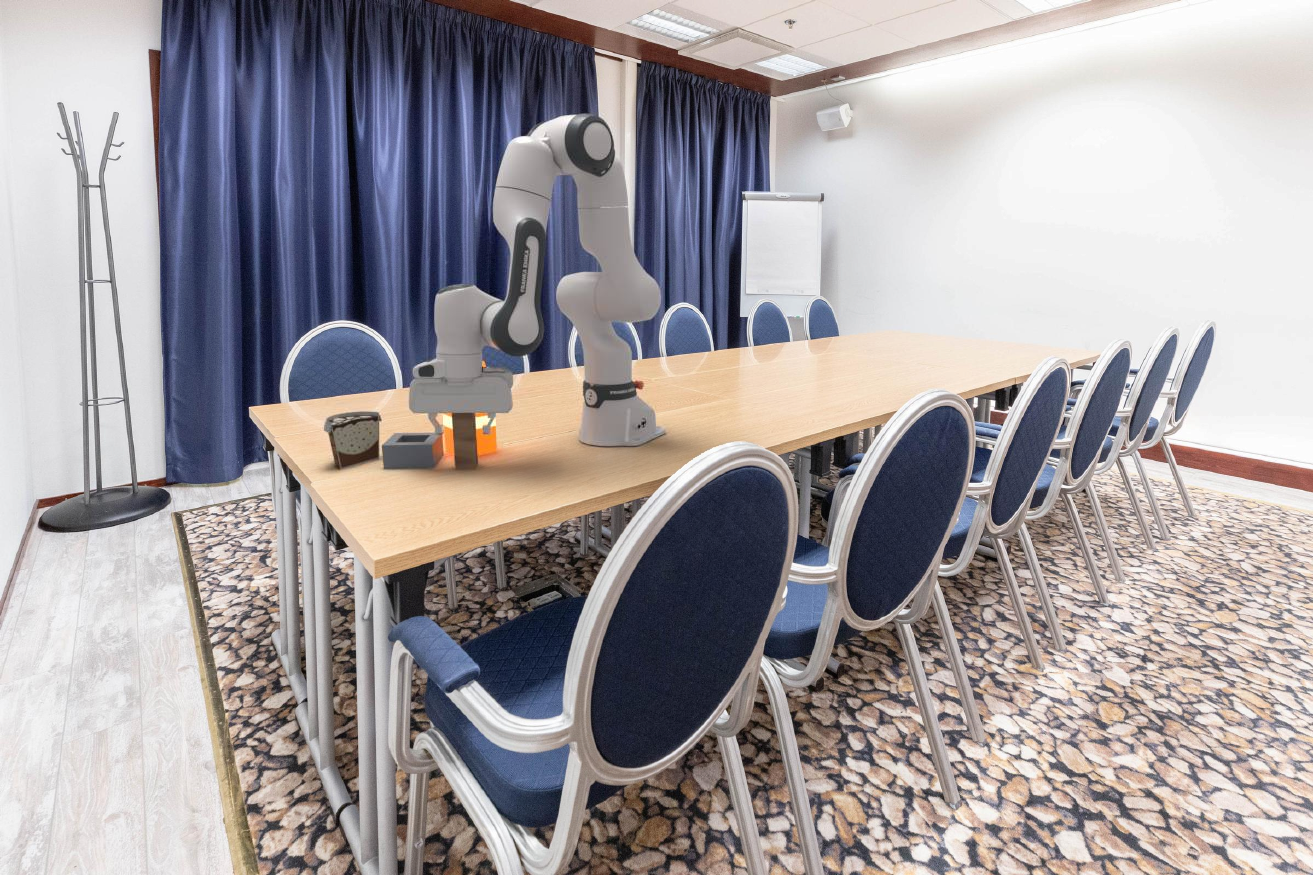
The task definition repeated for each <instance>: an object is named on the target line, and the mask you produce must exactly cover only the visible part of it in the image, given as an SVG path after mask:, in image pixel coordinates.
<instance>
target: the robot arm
mask: <svg viewBox="0 0 1313 875" xmlns="http://www.w3.org/2000/svg"><path fill="white" fill-rule="evenodd" d="M560 175H561V176H572V178H573V181H574V182H575V185H576V188H577V189H576V190H577V214H578V216H577V217H578V230H579V242H580V245H581V247H582V248H583V249H584V251H586V252H587V253H588V254H590V255H592V256H593V257H594V258H595V259H596V260H597V262H598V263H599V266H600V268H601V272H600V271H582V272H575V273H571V274H568V275H565V276H563V277H562V278H561V279H560V280H559V283H558V285H557V287H556V292H555V295H556V297H555V298H556V303H557V306H558V308H559V310H560V311H561V313H562V314H563V315H564V316H565V317H566V318H568V319H569V321H570V322H571V323H572V325H573V327H574V328H575V330H576V332H577V334H578V336H579V339H580V342H581V347H582V353H583V364H584V365H583V366H584V367H583V370H584V380H583V381H582V396H583V399H584V402H583V405H582V416H581V424H580V428H579V432H578V434H579V435H578V440H579V441H580V442H582V443H583V444H586V445H591V446H599V447H621V446H623V447H624V446H627V447H637V446H640V445H643V444H645V443H647V442H649V441H652V440H653V439H656V438H658V437H660V436H663V435H664V434H666V433H667V432H666V429H665V428H664V427H662V426H660V425H657V418H656V412H655V410H654V408H653V407H652V406H650V405H649V404H648V403H647V402H645V401H644V400H643V399H642V398H641V397H640V396H639V395H638V392H637V390H643V389H644V387H645V383H644V381H642V380H635V381H633V379H632V374H633V373H632V372H633V371H632V370H633V369H632V368H633V367H632V366H633V362H632V361H633V360H632V359H633V352H632V349H631V347H630V345H629V343H628V342H627V341H625V340H624V339H623V338H621V337H620V336H619V334H617V333H616V331H615V329H614V327H613V323H612V322H614V323H631V324H633V323H638V322H639V323H641V322H645V321H651V320H652V319H653V318H654V317H655V316H656V315H657V313H658V311H659V309H660V306H661V303H662V293H661V290H660V289H661V288H660V286H659V284H658V283H657V281H656V280H655V278H653V277H652V276H651V275H650V274H649V273H647V272H646V270H645V269H644V268H643V267H642V265H641V264H640V262H639V259H638V258H637V256H636V253H635V251H634V248H633V244H632V238H631V230H630V217H629V216H630V215H629V213H630V212H629V198H628V196H629V195H628V188H627V182H626V177H625V171H624V167H623V165H622V162H621V161H620V159H619V158H618V157H617V156H616V150H615V141H614V137H613V133H612V130H611V129H610V126H609V125H608V123H607V122H606V121H605V120H604V119H603V118H602V117H600V116H598V115H596V114H591V113H578V114H569V115H567V114H566V115H561V116H558V117H556V118H553V119H550V120H544V121H541V122H539V123H538V124H536V125H534V126H533V127H531V129H530V130H529V131H528V133H527V134H526V135H524V136H523V135H522V136H517V137H515V138H512V139H511V141H509V143H508V144H507V147H506V149H505V152H504V154H503V156H502V160H501V163H500V167H499V170H498V173H497V178H496V183H495V188H494V196H493V200H492V201H493V202H492V215H493V216H492V218H493V219H492V221H493V223H494V226H495V228H496V229H497V231H498V233H500V235H501V236H502V237H503V238H504V239H505V241H506V243H507V245H508V248H509V254H510V262H509V272H508V281H507V289H506V297H505V298H504V300H502V299H500V298H497V297H494V296H493V295H490V294H488V293H486V292H485V291H482V290H481V289H480V288H478V287H477V286H476V285H475V284H472V283H459V284H458V283H457V284H452V285H448V286H444V287H442V288H440V289H439V291H437V292H436V295H435V300H434V308H433V310H434V312H433V313H434V315H433V317H434V318H433V319H434V331H435V332H434V333H435V335H436V338H437V343H436V344H437V345H436V350H435V355H436V357H435V358H433V359H429V360H427V361H424V362H422V363H419V364H417V365H415V366H414V367H413V368H412V376H413V377H414V378H413V379H412V381H411V382H410V384H409V390H408V409H409V410H410V411H411V412H412V413H413V414H427V415H428V420H429V422H430V423H431V425H432V426H433V427H434V433H435V435H442V436H444V425H443V424H440V422H438V420H437V417H438V414H443V413H487V416H488V418H491V419H490V420H489V422H488V424H487V425H483V426H482V430H483V434H491V424H492V422H493V420H494V418H495V417H497V416H496V415H497V414H508V413H510V412H511V411H512V409H513V406H514V402H513V394H512V388H513V386H514V374H513V373H512V372H511V371H510V370H509V369H508V368H507V369H506V367H504V366H503V367H502V366H498V367H493V366H486V367H483V363H482V361H483V348H484V347H486V346H489V347H491V348H494V349H497V350H500V351H501V352H503V353H504V354H506V355H508V356H511V357H518V358H519V357H525V356H527V355H529V354H531V353H533V352H534V351H535V350H536V349H538V347H539V346H540V344H541V342H542V341H543V338H544V336H545V335H544V334H545V323H544V317H543V313H542V309H541V308H542V307H541V306H542V305H541V297H542V285H543V277H544V268H545V260H546V259H545V258H546V256H545V255H546V243H547V242H546V240H547V227H548V226H547V225H548V221H549V220H548V219H549V214H550V209H551V202H552V196H553V188H554V187H553V186H554V183H555V181H556V179H557V178H558V176H560Z"/></svg>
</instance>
